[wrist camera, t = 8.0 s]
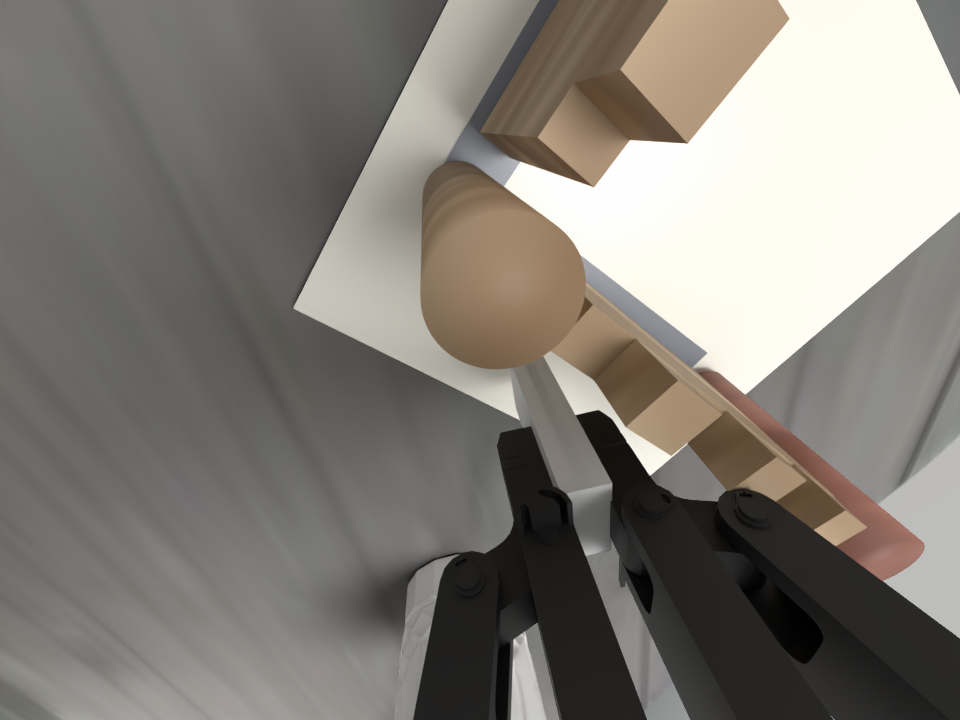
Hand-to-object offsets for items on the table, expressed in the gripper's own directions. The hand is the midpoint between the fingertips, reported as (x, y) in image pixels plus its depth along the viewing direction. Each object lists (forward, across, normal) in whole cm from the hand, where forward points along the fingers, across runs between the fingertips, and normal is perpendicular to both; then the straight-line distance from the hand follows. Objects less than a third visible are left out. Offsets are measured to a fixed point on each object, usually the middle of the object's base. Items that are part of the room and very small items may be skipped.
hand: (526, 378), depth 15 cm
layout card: (+2, +6, +4) cm, 7 cm away
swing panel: (+1, +5, 0) cm, 5 cm away
